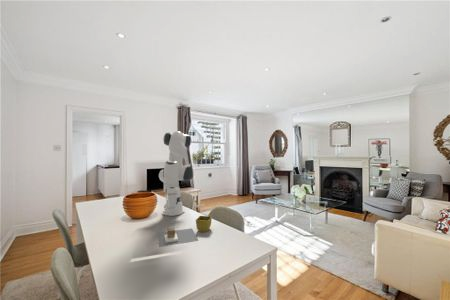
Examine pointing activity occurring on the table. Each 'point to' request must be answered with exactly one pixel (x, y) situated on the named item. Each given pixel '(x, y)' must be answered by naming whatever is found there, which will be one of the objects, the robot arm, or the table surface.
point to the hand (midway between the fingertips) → (170, 211)
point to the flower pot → (203, 223)
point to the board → (182, 235)
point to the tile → (171, 238)
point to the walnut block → (171, 232)
